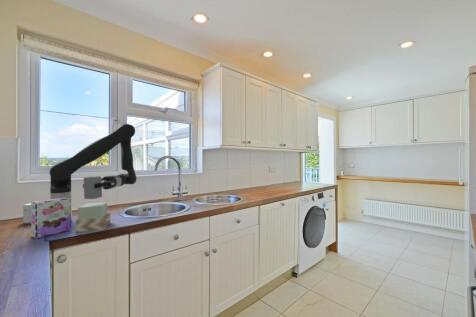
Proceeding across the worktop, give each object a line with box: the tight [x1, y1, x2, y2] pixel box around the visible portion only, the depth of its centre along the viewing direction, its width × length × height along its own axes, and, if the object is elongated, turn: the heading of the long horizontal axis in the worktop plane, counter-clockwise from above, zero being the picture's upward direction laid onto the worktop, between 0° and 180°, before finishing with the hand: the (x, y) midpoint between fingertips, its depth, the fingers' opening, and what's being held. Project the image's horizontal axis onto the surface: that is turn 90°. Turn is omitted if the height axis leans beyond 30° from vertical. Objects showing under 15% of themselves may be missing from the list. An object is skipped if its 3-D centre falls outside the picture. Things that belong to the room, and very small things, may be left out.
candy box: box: [30, 197, 72, 239], centre depth 106 cm, size 14×6×16 cm, turn 148°
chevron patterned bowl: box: [75, 212, 111, 233], centre depth 116 cm, size 12×12×6 cm
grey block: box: [83, 176, 103, 200], centre depth 115 cm, size 6×6×11 cm
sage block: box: [77, 201, 108, 220], centre depth 115 cm, size 10×10×6 cm
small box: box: [22, 202, 31, 224], centre depth 126 cm, size 8×6×10 cm
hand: (89, 186), depth 113 cm, fingers closed on grey block, 5 cm apart
